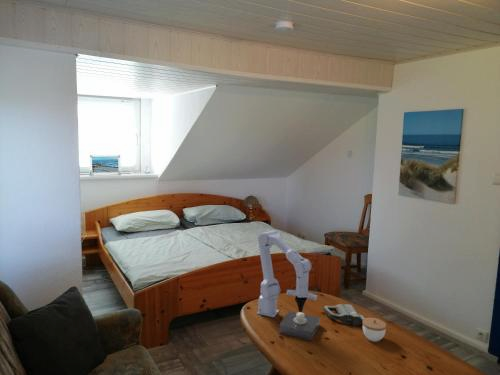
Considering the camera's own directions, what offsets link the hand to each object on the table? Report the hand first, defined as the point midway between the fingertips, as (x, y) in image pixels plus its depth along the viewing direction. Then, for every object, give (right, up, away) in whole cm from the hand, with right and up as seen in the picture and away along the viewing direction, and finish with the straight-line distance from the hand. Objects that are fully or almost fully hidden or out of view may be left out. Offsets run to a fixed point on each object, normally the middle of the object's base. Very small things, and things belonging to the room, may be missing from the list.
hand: (300, 311), depth 184 cm
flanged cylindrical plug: (0, -7, +1) cm, 7 cm away
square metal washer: (0, -9, +1) cm, 9 cm away
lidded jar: (+34, -11, -5) cm, 36 cm away
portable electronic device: (+25, -9, +14) cm, 30 cm away
